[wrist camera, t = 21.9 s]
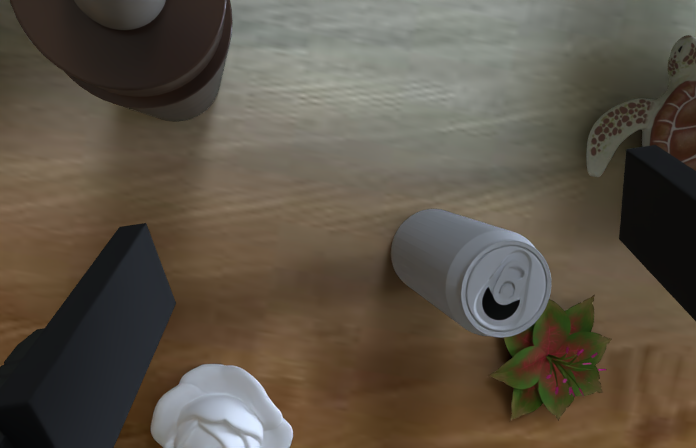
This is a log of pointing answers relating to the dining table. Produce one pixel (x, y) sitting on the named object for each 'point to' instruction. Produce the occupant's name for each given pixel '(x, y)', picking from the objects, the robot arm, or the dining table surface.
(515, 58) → the dining table surface
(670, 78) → the decorative turtle
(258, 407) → the rose
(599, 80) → the dining table surface
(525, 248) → the beverage can
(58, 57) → the pepper mill
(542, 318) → the lily flower
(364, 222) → the dining table surface
